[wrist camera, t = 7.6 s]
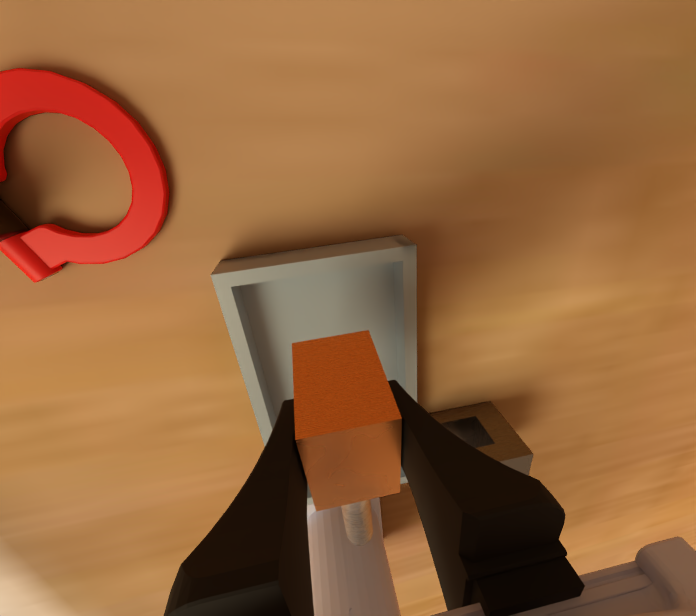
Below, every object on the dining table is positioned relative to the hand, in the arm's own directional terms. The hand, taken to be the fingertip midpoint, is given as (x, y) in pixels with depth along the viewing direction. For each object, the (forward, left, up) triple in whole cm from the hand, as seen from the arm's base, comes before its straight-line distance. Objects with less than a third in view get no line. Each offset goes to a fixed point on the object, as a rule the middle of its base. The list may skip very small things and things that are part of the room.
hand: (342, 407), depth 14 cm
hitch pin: (-5, 0, -3) cm, 6 cm away
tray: (-5, 0, -8) cm, 10 cm away
